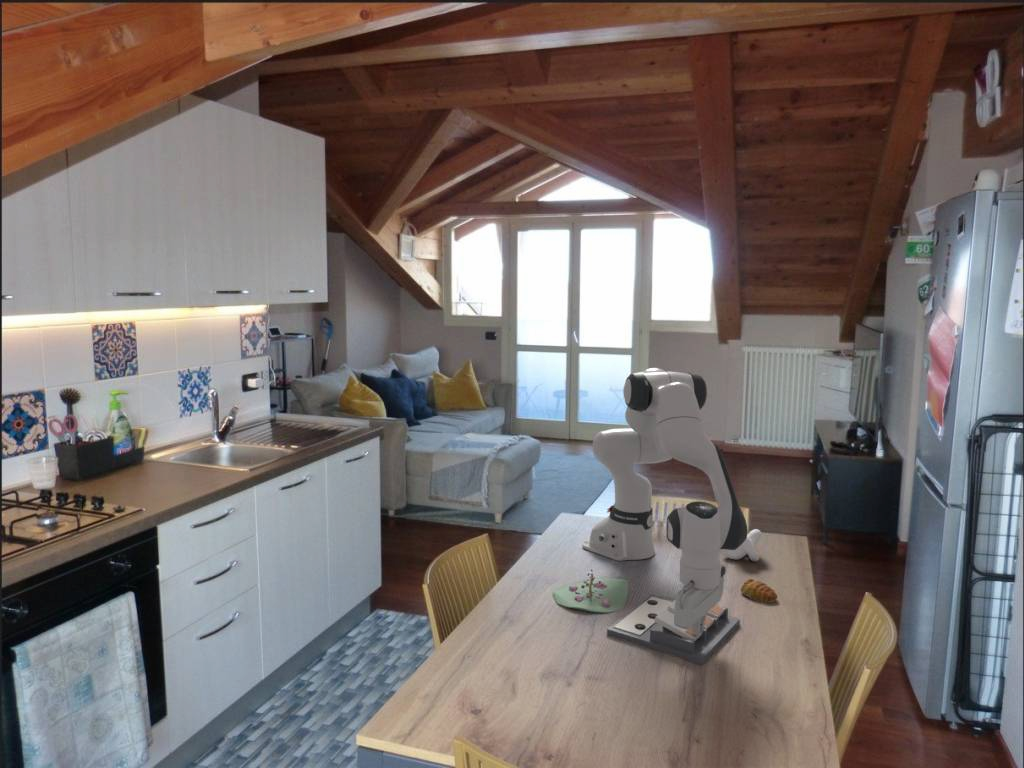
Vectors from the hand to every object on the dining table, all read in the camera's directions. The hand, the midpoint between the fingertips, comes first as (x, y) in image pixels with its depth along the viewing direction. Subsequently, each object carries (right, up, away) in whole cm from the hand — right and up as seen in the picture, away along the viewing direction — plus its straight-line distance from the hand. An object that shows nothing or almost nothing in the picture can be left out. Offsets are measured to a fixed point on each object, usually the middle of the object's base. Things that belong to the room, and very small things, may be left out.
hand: (697, 632), depth 178 cm
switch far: (+4, +2, +14) cm, 15 cm away
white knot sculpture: (+27, +4, +57) cm, 63 cm away
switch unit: (-3, -3, +11) cm, 12 cm away
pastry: (+24, 0, +31) cm, 39 cm away
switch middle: (0, +1, +8) cm, 9 cm away
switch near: (-4, +1, +3) cm, 5 cm away
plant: (-20, -1, +32) cm, 38 cm away
